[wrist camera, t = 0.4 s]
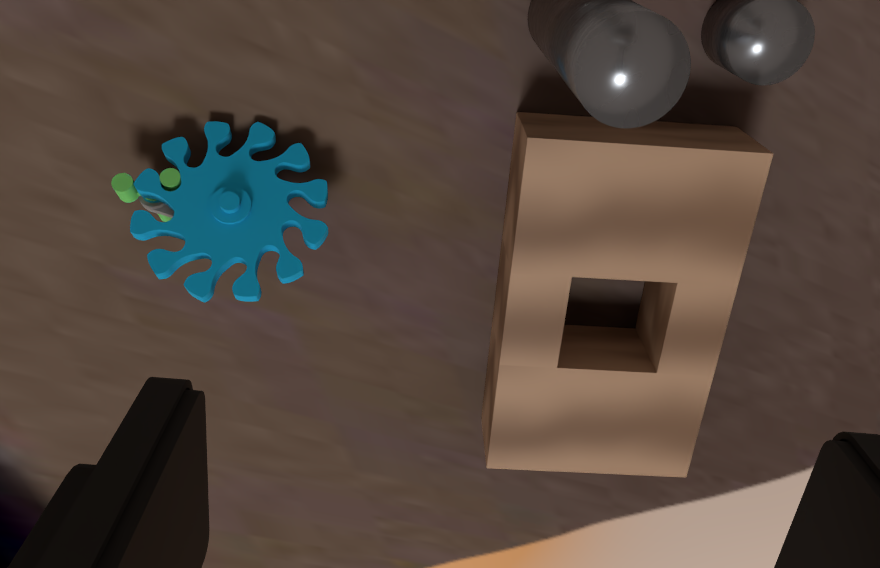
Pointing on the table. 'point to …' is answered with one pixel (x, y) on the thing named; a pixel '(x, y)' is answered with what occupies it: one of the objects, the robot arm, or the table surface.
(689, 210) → the hole block
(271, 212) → the gear
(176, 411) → the robot arm
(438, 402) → the table surface
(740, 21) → the short pin
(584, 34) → the long pin
